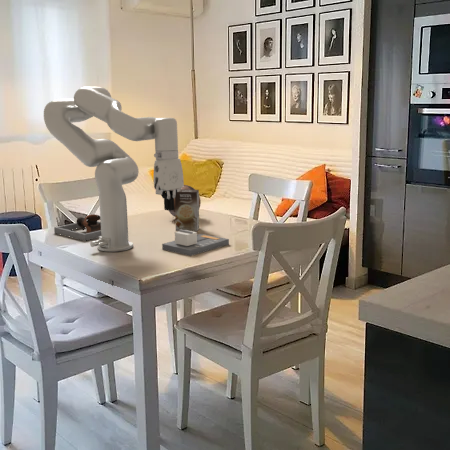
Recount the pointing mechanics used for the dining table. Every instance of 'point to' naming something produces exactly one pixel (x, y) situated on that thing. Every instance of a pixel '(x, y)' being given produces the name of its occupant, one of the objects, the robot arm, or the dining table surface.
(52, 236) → the dining table surface
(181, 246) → the board
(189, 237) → the fader knob
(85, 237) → the grey shallow tray
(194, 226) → the coffee box
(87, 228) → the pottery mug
